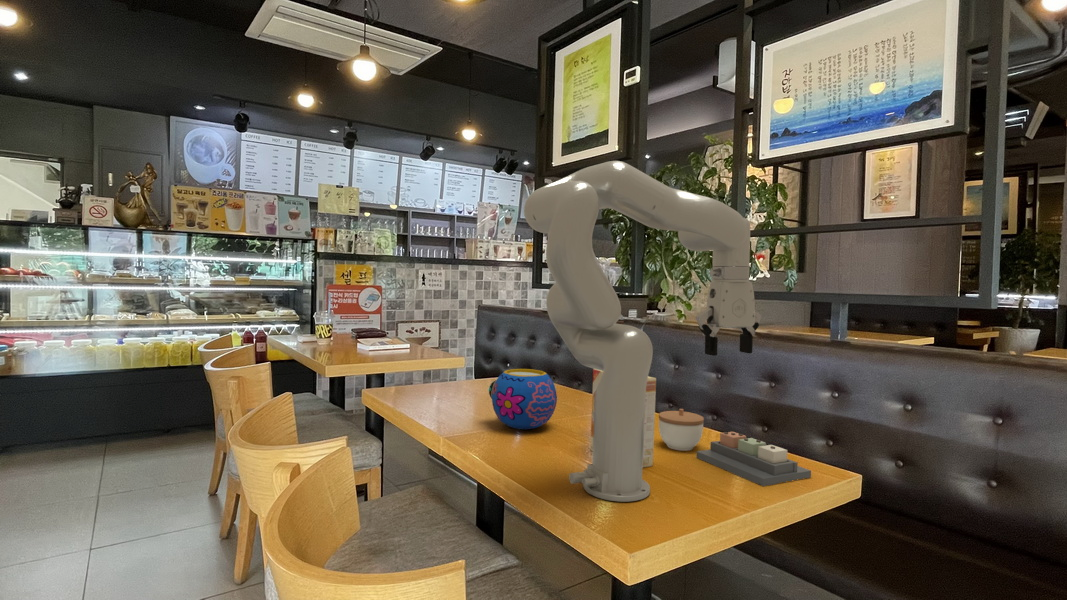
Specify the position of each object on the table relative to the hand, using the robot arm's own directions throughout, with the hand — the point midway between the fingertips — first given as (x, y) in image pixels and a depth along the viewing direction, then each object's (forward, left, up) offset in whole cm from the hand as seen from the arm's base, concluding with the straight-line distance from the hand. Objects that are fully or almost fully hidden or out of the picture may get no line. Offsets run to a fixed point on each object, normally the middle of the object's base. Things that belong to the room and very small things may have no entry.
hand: (728, 353), depth 120 cm
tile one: (+6, -8, -22) cm, 24 cm away
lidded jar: (+1, +15, -25) cm, 30 cm away
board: (+6, -2, -25) cm, 26 cm away
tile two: (+6, -2, -22) cm, 23 cm away
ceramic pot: (-28, +44, -25) cm, 58 cm away
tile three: (+6, +3, -22) cm, 23 cm away
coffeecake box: (-18, +13, -25) cm, 34 cm away
